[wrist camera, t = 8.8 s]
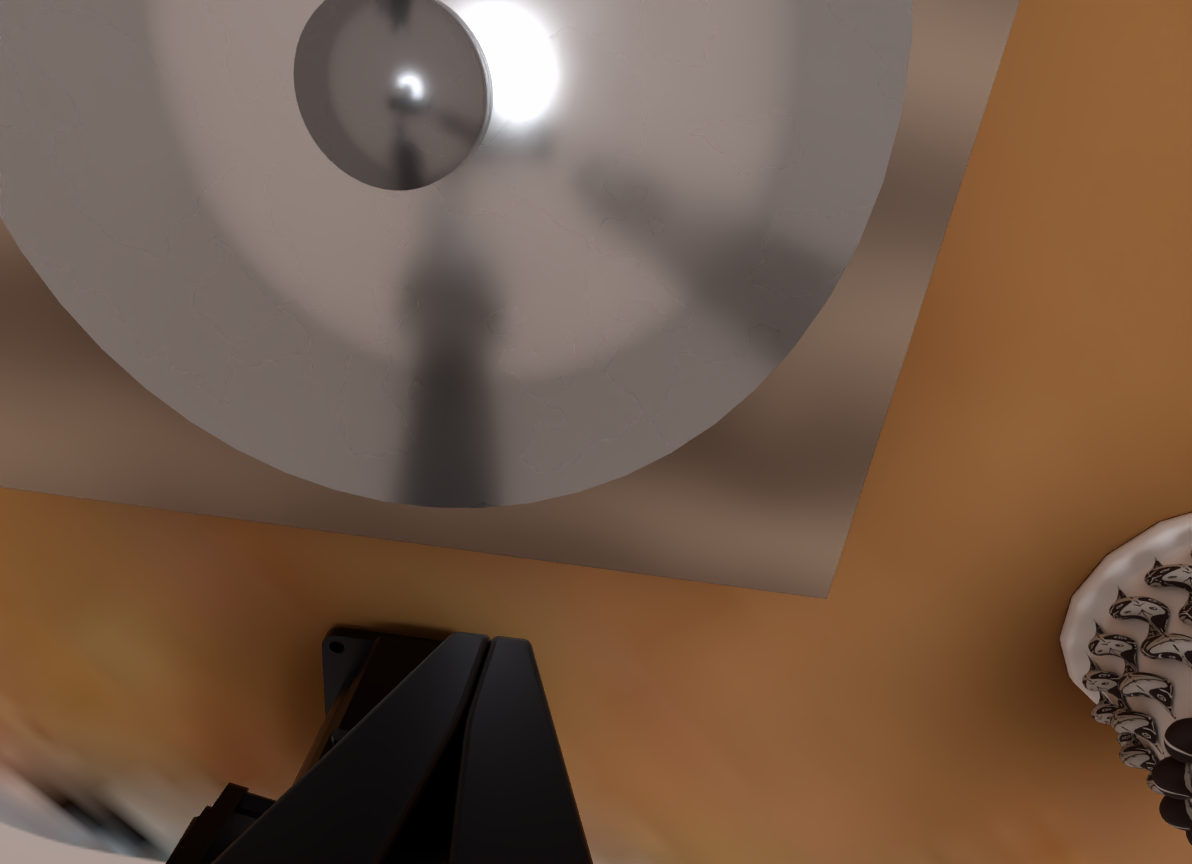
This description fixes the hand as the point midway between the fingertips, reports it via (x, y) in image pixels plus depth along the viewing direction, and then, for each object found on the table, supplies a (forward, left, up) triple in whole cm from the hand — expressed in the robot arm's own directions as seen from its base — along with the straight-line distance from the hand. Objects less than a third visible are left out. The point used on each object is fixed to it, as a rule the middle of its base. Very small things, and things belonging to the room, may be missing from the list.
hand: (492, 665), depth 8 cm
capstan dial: (+5, +4, -11) cm, 13 cm away
